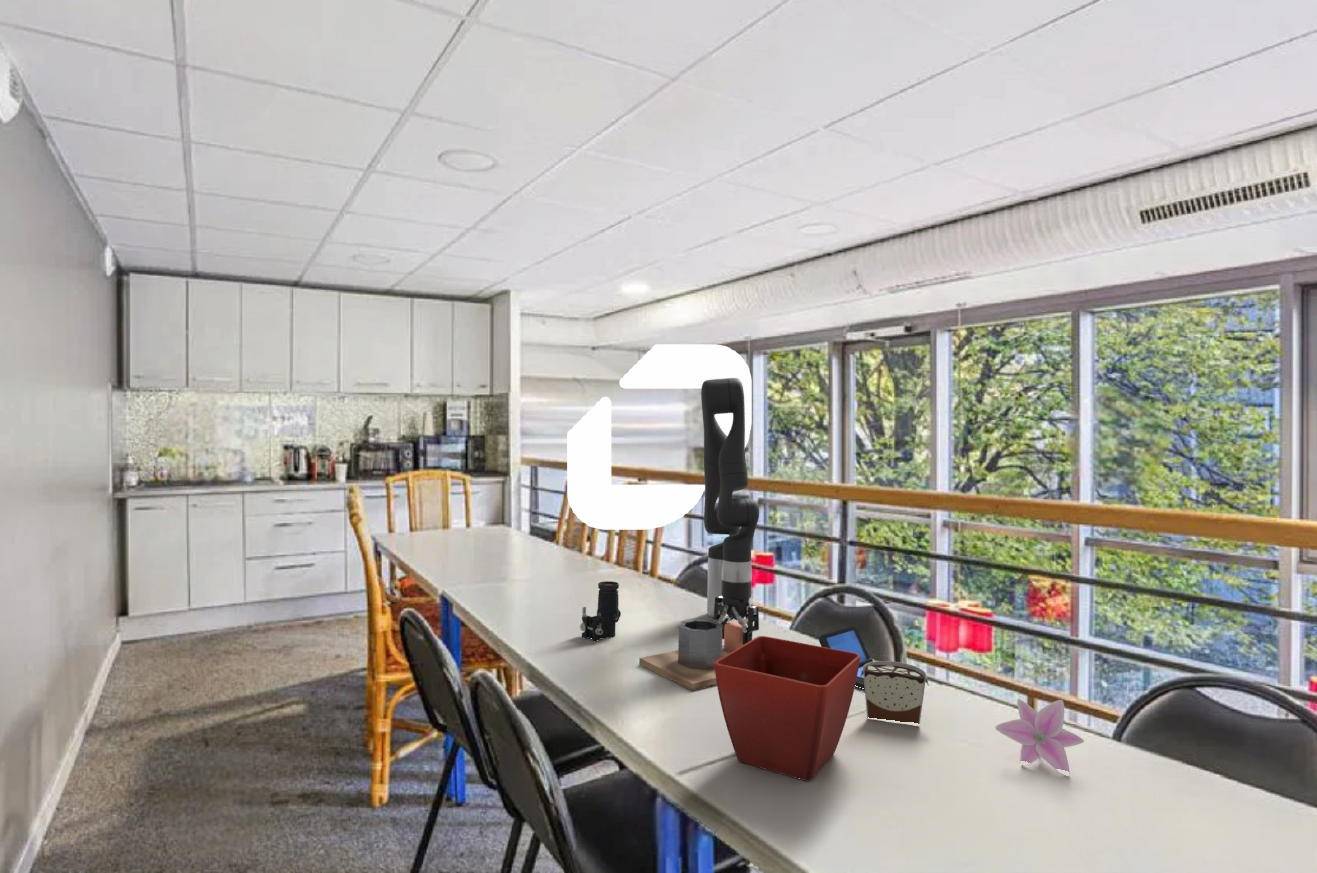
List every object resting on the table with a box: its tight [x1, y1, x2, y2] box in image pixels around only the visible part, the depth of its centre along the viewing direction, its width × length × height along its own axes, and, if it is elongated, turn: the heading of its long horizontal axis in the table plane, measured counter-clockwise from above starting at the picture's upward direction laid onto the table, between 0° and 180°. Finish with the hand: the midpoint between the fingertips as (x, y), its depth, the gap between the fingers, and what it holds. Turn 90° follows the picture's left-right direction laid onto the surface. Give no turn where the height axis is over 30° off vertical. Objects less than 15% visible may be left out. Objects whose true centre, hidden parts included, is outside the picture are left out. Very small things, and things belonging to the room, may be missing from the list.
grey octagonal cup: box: [677, 619, 723, 670], centre depth 165 cm, size 10×10×8 cm
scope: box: [579, 580, 622, 642], centre depth 189 cm, size 8×14×10 cm
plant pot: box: [714, 635, 860, 781], centre depth 120 cm, size 19×19×17 cm
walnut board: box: [638, 649, 730, 691], centre depth 165 cm, size 20×20×2 cm
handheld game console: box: [818, 625, 874, 690], centre depth 162 cm, size 16×13×9 cm
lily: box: [994, 698, 1085, 773], centre depth 121 cm, size 12×12×10 cm
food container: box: [860, 660, 930, 724], centre depth 139 cm, size 12×6×10 cm, turn 71°
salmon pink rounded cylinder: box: [723, 622, 748, 653], centre depth 180 cm, size 6×6×6 cm
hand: (735, 642), depth 180 cm, fingers open, 8 cm apart
